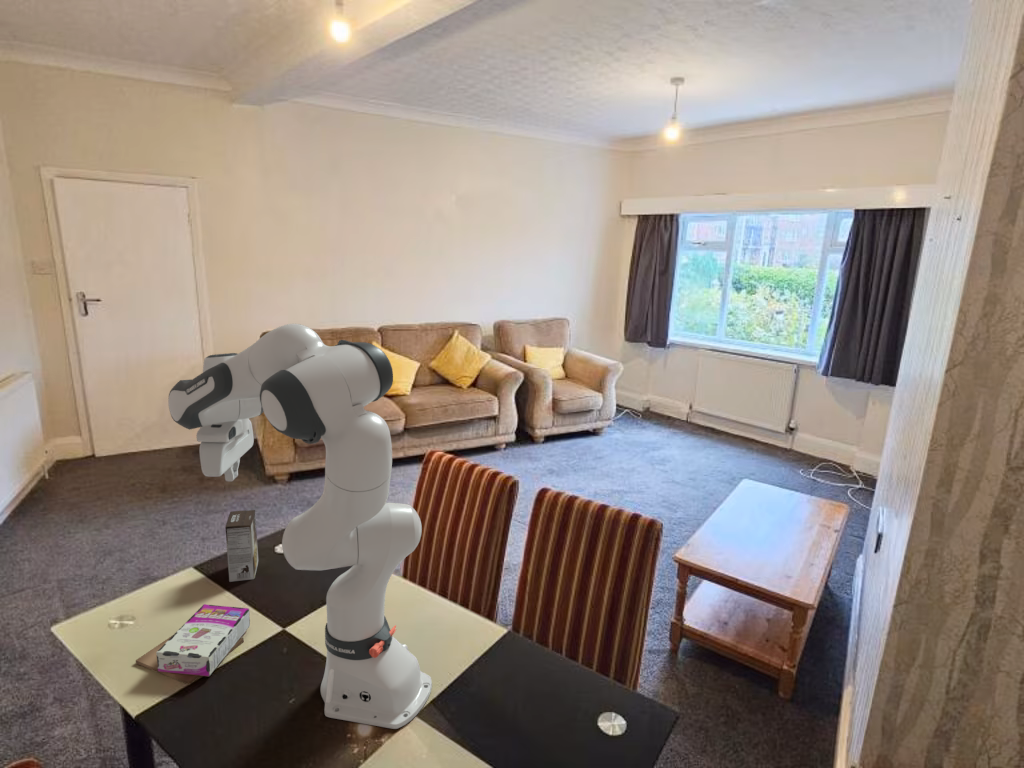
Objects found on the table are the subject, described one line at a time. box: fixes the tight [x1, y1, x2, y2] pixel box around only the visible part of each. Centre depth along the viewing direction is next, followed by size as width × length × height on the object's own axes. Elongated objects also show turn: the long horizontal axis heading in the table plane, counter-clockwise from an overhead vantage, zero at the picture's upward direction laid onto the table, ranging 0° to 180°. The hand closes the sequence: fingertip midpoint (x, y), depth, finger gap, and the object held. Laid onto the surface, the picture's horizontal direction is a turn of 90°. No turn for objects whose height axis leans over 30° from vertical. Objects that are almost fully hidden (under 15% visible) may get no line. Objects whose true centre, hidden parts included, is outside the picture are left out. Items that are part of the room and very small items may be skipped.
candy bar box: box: [156, 603, 251, 677], centre depth 122 cm, size 11×5×16 cm
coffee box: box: [224, 509, 259, 583], centre depth 151 cm, size 9×6×16 cm
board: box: [135, 634, 244, 686], centre depth 122 cm, size 15×14×1 cm
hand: (231, 478), depth 131 cm, fingers closed
